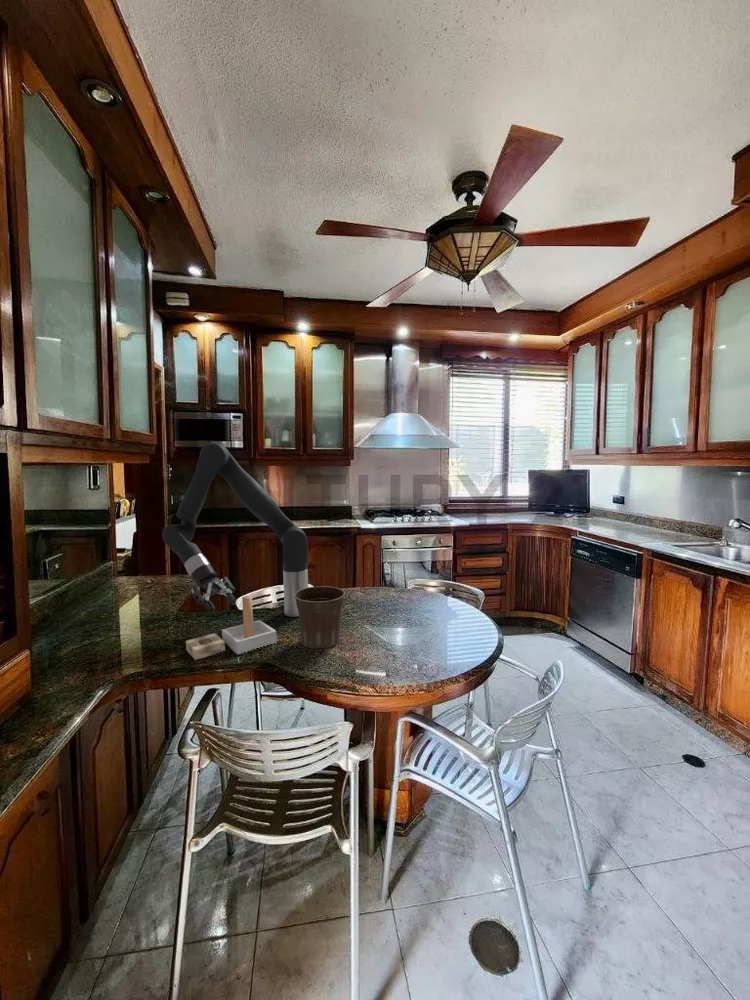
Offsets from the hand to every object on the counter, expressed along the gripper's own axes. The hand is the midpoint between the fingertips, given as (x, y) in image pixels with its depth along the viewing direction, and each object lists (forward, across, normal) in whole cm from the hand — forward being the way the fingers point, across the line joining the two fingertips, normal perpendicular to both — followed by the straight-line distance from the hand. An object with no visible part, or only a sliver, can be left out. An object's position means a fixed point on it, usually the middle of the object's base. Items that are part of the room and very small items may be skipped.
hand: (224, 607), depth 145 cm
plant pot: (+29, +12, -16) cm, 35 cm away
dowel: (+14, 0, -2) cm, 14 cm away
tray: (+15, 0, -1) cm, 15 cm away
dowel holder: (+10, -11, +4) cm, 15 cm away
